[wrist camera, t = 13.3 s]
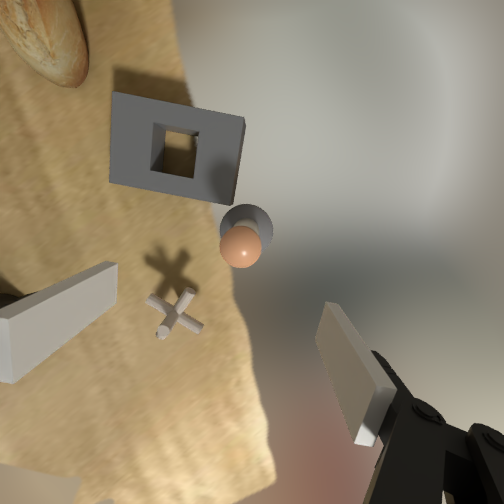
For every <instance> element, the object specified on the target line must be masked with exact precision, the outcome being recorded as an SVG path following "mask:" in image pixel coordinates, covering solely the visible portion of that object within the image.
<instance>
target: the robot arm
mask: <svg viewBox="0 0 504 504" xmlns="http://www.w3.org/2000/svg"><path fill="white" fill-rule="evenodd" d="M117 277H118V263H114V262H109V261H105V262H102V263H100V264H98V265H96V266H94V267H91V268H89V269H87V270H85V271H83V272H80V273H78V274H76V275H74V276H72V277H69V278H67V279H65V280H63V281H61V282H58V283H56V284H54V285H52V286H50V287H47V288H45V289H43V290H41V291H38V292H34V293H30V294H27V295H24V296H22V297H20V298H18V297H15V296H12V295H8V294H0V382H6V383H11V384H14V383H15V382H17V381H18V380H19V379H20V378H22V377H23V376H24V375H26V374H27V373H28V372H29V371H31V370H32V369H33V368H35V367H36V366H37V365H38V364H40V363H41V362H42V361H43V360H45V359H46V358H47V357H49V356H50V355H51V354H52V353H54V352H55V351H56V350H57V349H59V348H60V347H61V346H63V345H64V344H65V343H66V342H68V341H69V340H70V339H71V338H73V337H74V336H75V335H77V334H78V333H79V332H80V331H82V330H83V329H84V328H85V327H87V326H88V325H89V324H91V323H92V322H93V321H94V320H96V319H97V318H98V317H99V316H101V315H102V314H103V313H105V312H106V311H107V310H108V309H110V308H111V307H112V306H113V305H115V304H116V299H117ZM315 341H316V343H317V346H318V349H319V351H320V354H321V357H322V359H323V362H324V365H325V367H326V370H327V373H328V375H329V378H330V381H331V383H332V386H333V389H334V391H335V394H336V397H337V399H338V402H339V405H340V407H341V410H342V413H343V415H344V418H345V421H346V423H347V426H348V429H349V431H350V434H351V437H352V439H353V441H354V444H360V445H366V446H372V447H373V446H374V444H375V442H376V439H377V437H378V435H379V437H380V439H381V441H382V442H383V445H384V447H383V449H382V451H381V454H380V456H379V458H378V461H377V463H376V465H375V471H374V473H373V476H372V479H371V482H370V485H369V488H368V490H367V493H366V496H365V498H364V502H363V504H442V492H443V491H444V494H445V499H446V503H447V504H504V435H502V433H500V432H499V431H497V430H494V429H492V428H490V427H489V426H485V425H483V424H479V423H474V424H473V425H472V426H471V427H470V429H469V431H468V432H466V431H463V430H461V429H459V428H456V427H454V426H451V425H449V424H447V423H446V421H445V420H444V418H443V417H442V415H441V414H440V413H439V412H438V411H437V410H436V409H435V408H433V407H432V406H430V405H429V404H427V403H426V402H424V401H422V400H420V399H417V398H414V397H413V395H412V394H411V393H410V391H409V390H408V389H407V387H406V386H405V385H404V383H403V382H402V381H401V379H400V378H399V377H398V376H397V375H396V373H395V372H394V370H393V369H391V366H390V365H389V363H388V362H387V361H386V359H385V358H383V357H382V356H381V355H380V354H379V353H377V352H376V351H372V350H370V349H369V348H368V346H367V345H366V344H365V342H364V341H363V339H362V338H361V336H360V335H359V334H358V332H357V331H356V329H355V328H354V326H353V325H352V323H351V322H350V321H349V319H348V318H347V316H346V315H345V313H344V312H343V311H342V309H341V308H340V306H339V305H338V304H335V303H330V302H326V303H325V307H324V310H323V314H322V317H321V321H320V324H319V327H318V331H317V334H316V338H315Z"/></svg>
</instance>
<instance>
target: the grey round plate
mask: <svg viewBox="0 0 504 504" xmlns="http://www.w3.org/2000/svg"><path fill="white" fill-rule="evenodd" d="M243 218H249V219H252V220H254V221H255V222H256V223H257V225H258V227H259V237H260V240H261V253H262V252H263V251H264V250H265V249H266V248H267V247H268V246H269V244H270V242H271V240H272V236H273V225H272V222H271V220H270V218H269V216H268V215H267V213H266V212H265V211H264V210H262V209H261V208H259V207H257V206H255V205H250V204H242V205H238V206H235V207H234V208H232V209H231V210H229V211H228V212H227V213H226V215H225V216H224V217H223V219H222V222H221V225H220V236H221V239H222V237H223V235H224V234H225V233H226V232H227V231H228V230H229V229H230V228H232V227H233V226H234V225H235V224H236V222H237V221H239V220H240V219H243Z"/></svg>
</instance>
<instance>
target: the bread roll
mask: <svg viewBox="0 0 504 504" xmlns="http://www.w3.org/2000/svg"><path fill="white" fill-rule="evenodd" d="M0 29H1V30H2V32H3V34H4V35H5V37H6V38H7V40H8V42H9V43H10V45H11V46H12V47H13V49H14V50H15V51H16V53H17V54H18V55H19V56H20V57H21V58H22V59H23V60H24V61H25V62H26V63H27V64H28V65H29V66H30V67H31V68H32V69H33V70H34V71H36V72H37V73H38V74H40V75H41V76H43V77H44V78H46V79H47V80H49V81H51V82H53V83H55V84H57V85H58V86H61V87H67V88H74V87H75V88H77V86H80V85H81V84H82V83H83V81H84V80H85V78H86V77H87V74H88V67H89V61H88V52H87V46H86V42H85V39H84V36H83V32H82V29H81V25H80V22H79V19H78V16H77V13H76V10H75V7H74V5H73V2H72V0H0Z"/></svg>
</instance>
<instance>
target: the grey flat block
mask: <svg viewBox="0 0 504 504" xmlns="http://www.w3.org/2000/svg"><path fill="white" fill-rule="evenodd" d="M245 129H246V124H245V119H244V117H240V116H235V115H230V114H225V113H220V112H215V111H210V110H205V109H200V108H195V107H190V106H185V105H180V104H175V103H170V102H165V101H160V100H155V99H150V98H145V97H140V96H135V95H130V94H125V93H120V92H115V91H112V115H111V145H110V174H109V183H114V184H119V185H125V186H130V187H135V188H140V189H145V190H151V191H156V192H161V193H166V194H171V195H176V196H182V197H187V198H192V199H197V200H202V201H208V202H213V203H218V204H223V205H229V206H230V205H232V204H233V202H234V196H235V189H236V184H237V177H238V171H239V165H240V159H241V153H242V146H243V141H244V135H245ZM166 130H167V131H172V132H177V133H183V134H188V135H193V136H198V145H197V154H196V162H195V170H194V179H192V178H187V177H182V176H177V175H172V174H166V173H162V169H163V157H164V146H165V134H166Z"/></svg>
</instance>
